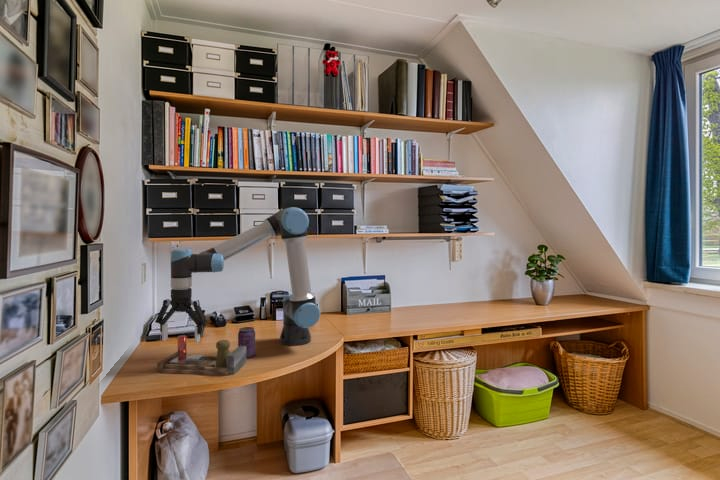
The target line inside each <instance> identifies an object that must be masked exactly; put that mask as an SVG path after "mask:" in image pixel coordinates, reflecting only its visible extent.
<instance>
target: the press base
mask: <svg viewBox="0 0 720 480" xmlns="http://www.w3.org/2000/svg"><path fill="white" fill-rule="evenodd" d="M177 357H178V350H177V351H176V352H174V353H173V354H171V355H168V356H167V357H166V358H165V357H164V359H162V360H160V361H158V362H157V363H156V364H157V365H156V367H157V368H156V372H157V373H163V374H164V373H165V374H189V375H211V376H213V375H214V376H229V375H235V374H237V373H238V371H240V370H241V369H242V368H243V367H244V366H245V365H246V364H247V358H246V346H239V347H238V346H237V347H236V348H235V349H233V350H232V351H231V352H229V354H228V355H227V356H226V368H221V367H216V359H217V355H204V362H203V363H202V364H200V365H182V364H169V362H170V361H172V360H173V359H175V358H177Z"/></svg>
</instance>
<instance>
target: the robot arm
mask: <svg viewBox="0 0 720 480" xmlns="http://www.w3.org/2000/svg"><path fill="white" fill-rule="evenodd" d="M309 224H310V220H309V216H308V214H307V213H306V212H305V211H304V210H303V209H301V208H299V207H295V206H293V207H286V208H282V209H280V210H278V211H277V212H275V213H274V214H272V215H270V216H269V217H266V218H265V219H264V220H263V222H262V223H259V224H257V225H255V226H254V227H251V228H249V229H248V230H246V231H243V232H241V233H239V234H237V235H235V236H232V237H231V238H229V239H227V240H225V241H223V242H220V243H219V244H217V245H215V246H213V247H211V248H209V249H206V250H204V251H200V252H199V253H193V251H192V249H189V248H176V249H172V250H171V251H170V252H171V253H170V255H171V256H170V288H171V289H170V299H169V298H167V299H163V301H162V306H161V308H160V310H159V312H158V315H157V316H156V318H155V321H154V322H155V323H156V324H158V325H160V326H159V327H160V329H159V332H160V333H161V341H162V342H165V341H168V340H169V328H168V327H169V324H168V323H167V322H168V320H169V319H170V318H171V317H172V316H173V315H174V314H175V313H177V312H181V313H184V312H185V313H186V314H187V315H188V316H189V318H190V319H191V320H192V321H193V322H194V323H195V326H194V343H195V344H198V343H199V342H201V334H202V333H203V325H206V324H207V323H208V320H207V318H206V316H205V314H204V311H203V309H202V307H201V306H200V300H199V299H197V300H192V297H193V296H192V293H193V292H192V291H193V290H192V289H193V288H192V286H193V285H192V280H193V278H192V276H193V275H192V273H218V272H221V273H222V272H223V270H224V263H225V261H227V260H228V259H230V258H232V257H235V256H236V255H239V254H240V253H242V252H244V251H246V250H248V249H250V248H252V247H254V246H256V245H257V244H261V243H262V242H263V241H266V240H267V239H268V240H269V238H277V237H278V236H280V238H281V241H283V242H284V244H285V249H286V250H285V251H286V257H287V258H286V259H287V265H288V273H289V280H290V287H291V294H285V295H284V296H283V299H282V307H283V308H282V309H283V311H282V312H283V315H282V316H283V317H282V319H283V320H282V322H283V325H282V326H283V327H282V329H281V332H280V335H279V343H280V344H282V345H285V346H300V345H306V344H308V343H310V342H311V341H312V335H311V332H310V328H312V327H314V326H315V325H316V324H317V323H318V322H319V321H320V318H321V310H320V308H319V306H318V305H317V302H316V295H315V293H313V292H312V288H311V279H310V273H309V264H308V263H309V262H308V256H307V255H308V254H307V249H306V241H305V240H306V239H307V238H308V228H309ZM169 306H171V308H170V309H169ZM168 309H169V310H168ZM167 311H168V312H167ZM166 312H167V313H166Z"/></svg>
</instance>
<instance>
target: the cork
mask: <svg viewBox="0 0 720 480" xmlns="http://www.w3.org/2000/svg"><path fill="white" fill-rule="evenodd" d="M215 347H216V349H217V352H216V356H217V359H216V366H215V367H221V368H226V356H227V355H228V354H229V353H230V349H229V348H230V347H231V343H230V341H229V339H219V340H217V342H216V344H215Z"/></svg>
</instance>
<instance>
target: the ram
mask: <svg viewBox="0 0 720 480" xmlns="http://www.w3.org/2000/svg"><path fill="white" fill-rule="evenodd" d="M187 348H188V347H187V335H186V334H181V335H178V336H177V351H178V357H177V358H175V359H173V360H172V361H170V362H169V364H182V365H200V364H202V363H203V362H204V356H205V354H193V353H192V354H188V353H187V351H188V349H187Z"/></svg>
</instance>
